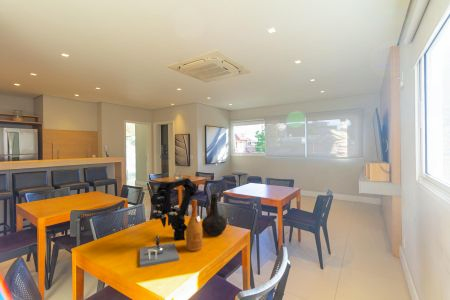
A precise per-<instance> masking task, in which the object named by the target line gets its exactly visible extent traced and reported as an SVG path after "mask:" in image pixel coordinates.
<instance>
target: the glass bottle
mask: <svg viewBox="0 0 450 300" xmlns="http://www.w3.org/2000/svg"><path fill="white" fill-rule="evenodd" d="M209 197H210V208H209V213H208V215H207V216H205V217H204V218H203V219H202V221H201V226H202V231H203V232H204V233H206V234H207V235H209V236H218V235H221V234H222V233H223V232H224V231H225V230H226V228H227V223H228V222H227V220H226V218H225V217H224V216H223V215H220V214H219V208H218V198H219V196H218V194H217V193H212V194H210V196H209Z"/></svg>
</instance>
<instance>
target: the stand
mask: <svg viewBox="0 0 450 300" xmlns="http://www.w3.org/2000/svg"><path fill="white" fill-rule="evenodd" d="M159 246H163V253H161V254H157V250H154V248H155V247H157V245H151V246H145V247H139V267H140V268H145V267H150V266H156V265H161V264H167V263H172V262H177V261H180V255H179V253H178V251H177V248H176V245H175V243H174V242H170V243H165V244H159ZM147 251H148V254H147ZM150 252H152V253H150ZM154 252H155V253H154Z"/></svg>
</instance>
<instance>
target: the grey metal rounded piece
mask: <svg viewBox="0 0 450 300" xmlns="http://www.w3.org/2000/svg"><path fill="white" fill-rule="evenodd" d="M159 245H160V235H156V236H155V246H157V247H155V248H154V250H157V254H161V253H163V246H159ZM150 253H152V252H150ZM154 253H155V252H154ZM147 254H148V251H147Z"/></svg>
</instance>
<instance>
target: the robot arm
mask: <svg viewBox="0 0 450 300" xmlns="http://www.w3.org/2000/svg"><path fill="white" fill-rule="evenodd" d="M180 186H182V187H183V189H184V190H183V191H184V195H183V198H182V201H181V203H180V206H179V207H177V206H174V207H172V206H173V202H172V195H173V194H174V191H173V190H174V189H176V188H177V187H180ZM197 190H198V186H197V184H196V183H195V182H194V181H192V180H191V179H190V178H188V177H182V178H178V179H175V180H171V181H169V180H165V181H161V182H160V184H159V186H158V188H157V190H156V192H153V193H152V196H151V197H150V203H151V205H153V211H154V212H151V214H150V218H152V219H153V220H160V221H161V224H162V227H163V228H166V222H167V226H169V227H170V226H171V229H172V230H173V239H174V240H175V242H177V241H186V234H185V232H186V229H187V225H186V224H185V222H186V220H185V214H186V213H187V210H188V207H189V205H190V201H191V200H192V197H193V196H194V195H196V192H197ZM166 215H167V216H166Z"/></svg>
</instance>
